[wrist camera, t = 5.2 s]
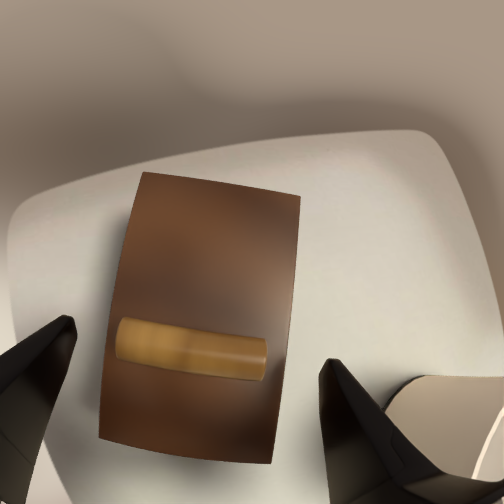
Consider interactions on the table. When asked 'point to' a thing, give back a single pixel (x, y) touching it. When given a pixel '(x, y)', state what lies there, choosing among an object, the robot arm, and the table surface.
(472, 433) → the mug
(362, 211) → the table surface
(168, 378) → the lid
